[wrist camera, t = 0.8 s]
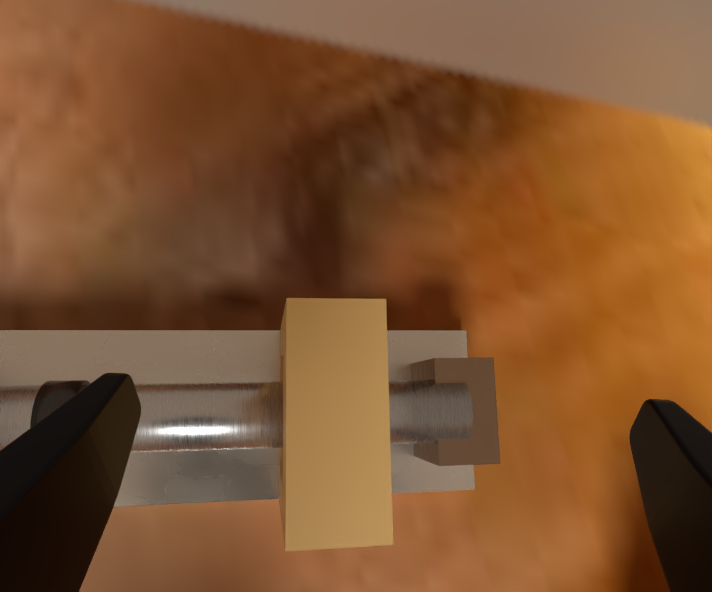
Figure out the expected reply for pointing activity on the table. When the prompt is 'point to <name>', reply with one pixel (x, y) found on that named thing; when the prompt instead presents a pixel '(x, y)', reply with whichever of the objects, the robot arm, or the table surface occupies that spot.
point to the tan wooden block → (335, 424)
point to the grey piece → (248, 406)
